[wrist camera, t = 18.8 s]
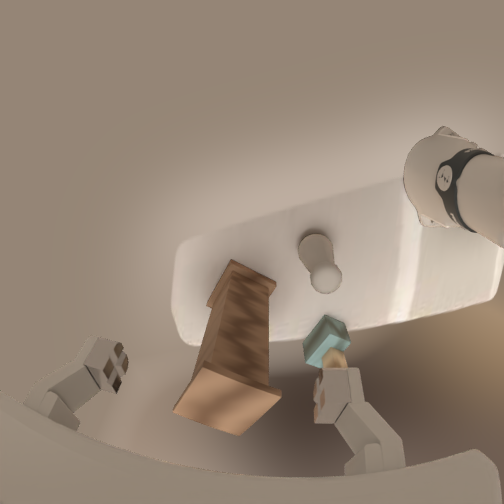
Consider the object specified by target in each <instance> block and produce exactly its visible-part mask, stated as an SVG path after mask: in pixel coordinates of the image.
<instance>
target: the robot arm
mask: <svg viewBox="0 0 504 504" xmlns="http://www.w3.org/2000/svg"><path fill="white" fill-rule="evenodd" d="M404 184H405V189H406V192H407V195H408V197H409V199H410V201H411V202H412V204H413V205H414V206H415V208H416V209H417V211H418V216H419V220H420V223H421V224H422V225H423V226H426V227H445V228H449V227H462V228H463V229H465V230H469V231H471V232H474V233H479V234H481V235H482V236H484V237H486V238H487V239H489V240H490V241H492V242H493V243H495V244H497V245H498V246H500V247H501V248H504V158H502V157H497V156H494V155H493V154H491V153H489V152H488V151H486V150H485V149H482V148H479V149H477V144H476V143H474V142H471V143H470V142H469V140H468V139H466V138H461V137H460V136H459V135H457V134H456V133H455V132H453V131H452V130H451V129H450V128H448V127H445V126H443V127H440V128H439V129H438V130H437V131H436V132H435V134H434V135H432V136H429V137H427V138H424V139H422V140H420V141H419V142H418V143H417V144H416V145H415V146H414V147H413V148H412V149H411V151H410V153H409V155H408V157H407V160H406V163H405V167H404ZM431 220H432V221H431ZM123 348H124V347H123V345H122V343H120V342H116V341H112V340H108V339H104V338H101V337H97V336H93V335H90V336H89V337H88V338H87V340H86V341H85V343H84V345H83V346H82V348H81V350H80V351H79V353H78V355H77V356H76V358H75V360H74V362H73V361H70V362H69V363H67V364H65V365H64V366H62V367H60V368H59V369H57V370H55V371H54V372H52V373H50V374H49V375H47V376H45V377H44V378H42V379H40V380H39V381H37V382H36V383H34V385H33V387H32V388H31V390H30V392H29V394H28V396H27V397H26V399H25V401H24V403H23V404H22V403H20V402H18V401H17V400H15V399H13V398H12V397H10V396H9V395H7V394H5V393H4V392H2V391H1V390H0V504H502V497H501V487H500V479H499V474H498V470H497V467H496V465H495V464H494V463H493V462H492V461H491V460H490V459H489V458H488V457H487V456H485V455H484V454H483V453H482V452H480V451H479V450H477V449H471V450H468V451H465V452H462V453H459V454H456V455H452V456H449V457H446V458H442V459H439V460H435V461H431V462H427V463H423V464H418V465H414V466H410V467H406V464H405V457H404V451H403V444H402V439H401V438H400V437H399V436H398V435H397V434H396V433H395V431H394V430H393V429H392V428H391V427H390V426H389V425H388V424H387V423H386V421H385V420H384V419H383V418H382V417H381V416H380V415H379V414H378V413H377V412H376V410H375V409H374V408H373V407H372V406H371V405H370V404H369V403H368V402H365V401H364V394H363V388H362V382H361V377H360V371H359V369H358V368H321V369H320V371H319V378H317V379H316V381H315V385H314V401H315V402H316V403H317V404H316V406H315V408H314V423H335V426H336V427H337V429H338V430H339V432H340V433H341V435H342V436H343V438H344V439H345V441H346V442H347V444H348V445H349V447H350V448H351V449H352V451H353V452H354V454H355V456H354V457H353V458H352V459H351V460H350V461H348V462H347V463H346V464H345V476H334V477H311V478H310V477H309V478H292V477H289V478H288V477H264V476H252V475H242V474H241V475H240V474H233V473H225V472H218V471H211V470H205V469H199V468H193V467H188V466H184V465H179V464H175V463H171V462H166V461H162V460H158V459H155V458H151V457H147V456H144V455H140V454H137V453H133V452H130V451H127V450H124V449H121V448H118V447H115V446H112V445H110V444H107V443H104V442H101V441H99V440H96V439H94V438H91V437H89V436H86V435H84V434H82V433H79V432H77V429H78V427H79V425H80V420H79V419H78V418H77V417H76V416H75V415H74V414H73V413H74V412H75V411H76V410H77V409H79V408H80V407H81V406H82V405H84V404H85V403H86V402H87V401H89V400H90V399H91V398H92V397H94V396H95V395H96V394H97V393H98V392H99V391H101V390H104V391H108V392H111V393H115V394H117V392H118V390H119V387H120V385H121V383H122V381H121V378H120V377H122V376H123V375H125V374H126V371H127V369H128V357H127V355H126V354H125V353H124V352H123V351H122V350H123Z"/></svg>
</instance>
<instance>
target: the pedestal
mask: <svg viewBox="0 0 504 504" xmlns="http://www.w3.org/2000/svg"><path fill="white" fill-rule="evenodd" d="M275 288H276V282H275V281H273V280H271V279H269V278H267V277H265V276H263V275H261V274H259V273H257V272H255V271H253V270H251V269H249V268H247V267H245V266H243V265H241V264H239V263H237V262H235V261H233V260H230V262H229V264H228V266H227V268H226V269H225V271H224V273H223V275H222V276H221V278H220V280H219V282H218V284H217V285H216V287H215V289H214V291H213V293H212V294H211V296H210V298H209V300H208V302H207V305H206V306H208V307H210V308H212V310H211V314H210V317H209V320H208V324H207V327H206V331H205V334H204V337H203V341H202V344H201V348H200V351H199V355H198V359H197V362H196V365H195V369H194V372H193V376H192V379H191V381H190V383H189V384H188V386H187V388H186V389H185V391H184V392H183V394H182V395H181V397H180V398H179V400H178V401H177V403H176V404H175V406H174V408H173V413H176V414H178V415H181V416H183V417H186V418H188V419H191V420H194V421H196V422H199V423H201V424H204V425H207V426H210V427H213V428H216V429H218V430H222V431H225V432H227V433H231V434H234V435H237V436H240V435H241V434H242V433H243V432H244V431H245V430H247V429H248V428H249V427H250V426H251V425H252V424H253V423H254V422H256V421H257V420H258V419H259V418H260V417H261V416H262V415H263V414H264V413H265V412H266V411H268V410H269V409H270V407H272V406H273V405H274V404H275V403H276V402H277V401H278V400H279V399H280V398H281V390H279V389H276V388H273V387H270V386H269V296H270V295H271V294H272V292H273V291H274V289H275Z"/></svg>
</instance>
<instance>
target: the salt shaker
mask: <svg viewBox="0 0 504 504" xmlns="http://www.w3.org/2000/svg"><path fill="white" fill-rule="evenodd" d="M298 254H299V258H300V260H301V261H302V263H303V264H304V265H305V267H306V268H307V269H308V271H309V272H310V273H311V274H310V278H311V284H312V286H313V287H314V288H315V290H316V291H318V292H320V293H322V294H329V293H331V292H334V291H335V290H337V289H338V288H339V287H340V284H341V282H342V273H341V271H340V269H339V268H338V266H337V265H335V264H334V254H333V245H332V243H331V242H330V240H329V239H328V238H327V237H325V236H323V235H321V234H312V235H309V236H306V237H305V238H304V239H303V240H302V241H301V243H300V246H299V248H298Z"/></svg>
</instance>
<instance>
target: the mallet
mask: <svg viewBox="0 0 504 504" xmlns="http://www.w3.org/2000/svg"><path fill="white" fill-rule="evenodd" d="M350 343H351V340H350V337H349V335H348V332H347V329H346V326H345V324H344V323H342V322H340V321H338V320H335V319H333V318H331V317H329V316H326V315H324V316H323V318H322V319H321V320H320V321H319V323H318V324H317V325H316V327H315V328H314V329H313V330H312V332H311V333H310V334H309V336H308V337H307V338H306V339H305V341H304V342H303V348H304V356H305V363H307V364H310V365H313V366H316V367H318V368H348V366H347V363H346V359H345V356H344V353H343V351H344V350H345V349H346V348H347V347H348V346H349V345H350Z"/></svg>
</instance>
